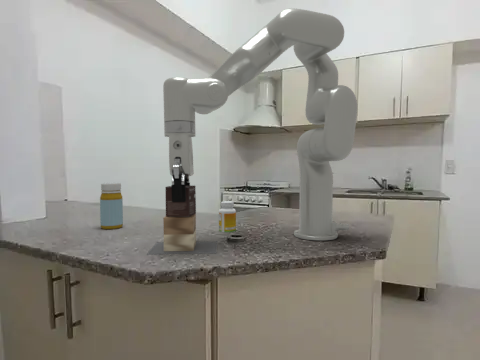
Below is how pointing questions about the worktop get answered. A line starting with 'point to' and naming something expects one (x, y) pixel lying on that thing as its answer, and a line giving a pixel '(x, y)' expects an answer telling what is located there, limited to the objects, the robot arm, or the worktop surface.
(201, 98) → the robot arm
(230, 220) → the supplement bottle
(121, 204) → the bottle
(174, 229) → the tower top
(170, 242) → the tower base
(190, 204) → the box
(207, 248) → the mat
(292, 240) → the worktop surface
